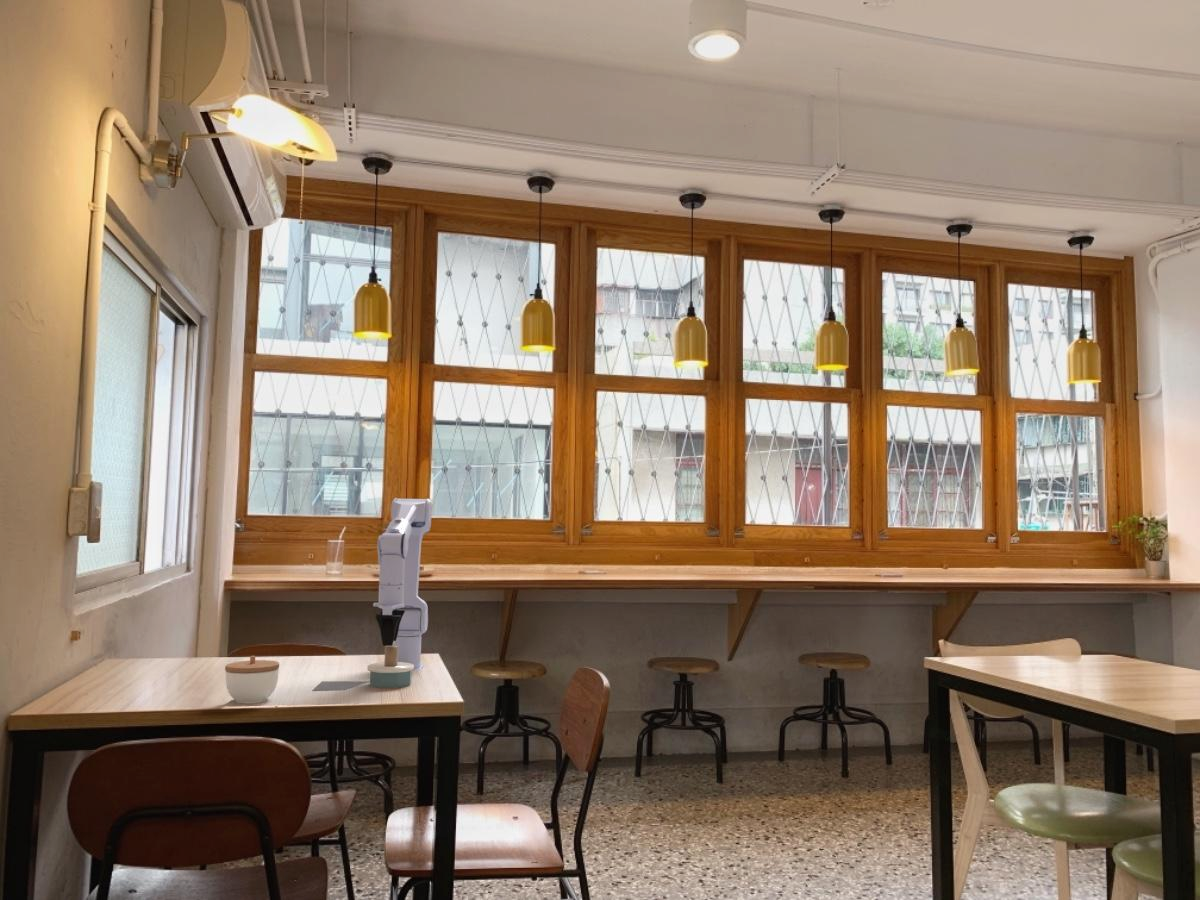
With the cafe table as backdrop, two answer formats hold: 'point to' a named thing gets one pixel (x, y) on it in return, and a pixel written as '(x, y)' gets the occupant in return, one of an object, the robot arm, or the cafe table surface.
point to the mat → (337, 685)
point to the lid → (390, 663)
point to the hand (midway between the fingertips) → (389, 643)
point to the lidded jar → (251, 680)
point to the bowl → (390, 679)
